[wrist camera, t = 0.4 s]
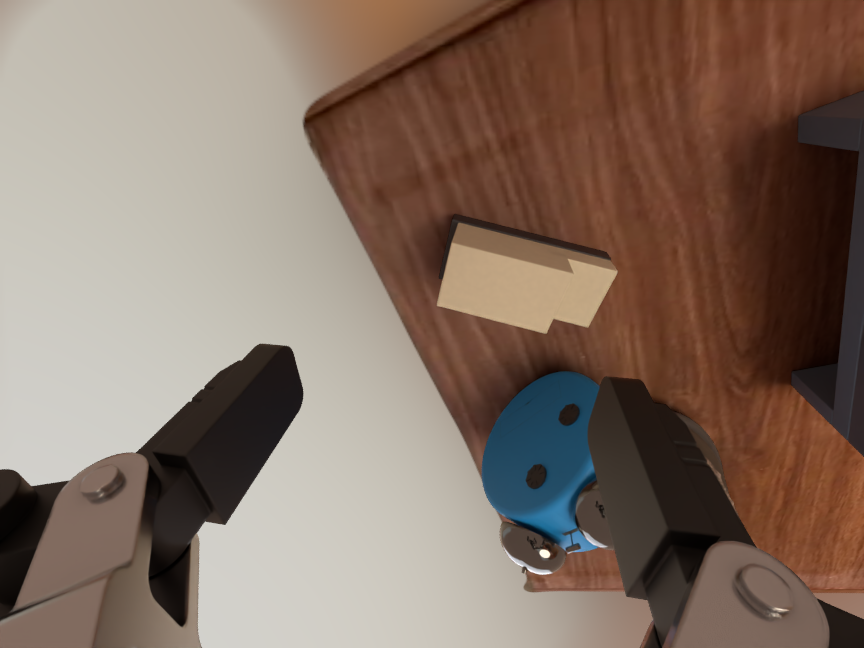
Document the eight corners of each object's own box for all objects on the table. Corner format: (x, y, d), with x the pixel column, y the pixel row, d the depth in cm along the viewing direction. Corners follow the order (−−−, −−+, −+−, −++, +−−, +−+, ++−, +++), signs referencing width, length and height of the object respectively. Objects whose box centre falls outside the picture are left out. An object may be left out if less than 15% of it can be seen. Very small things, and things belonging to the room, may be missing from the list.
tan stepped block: (440, 271, 30) (429, 305, 25) (454, 213, 28) (444, 239, 23) (579, 306, 30) (594, 348, 25) (606, 251, 27) (630, 286, 22)
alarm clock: (522, 442, 40) (532, 600, 27) (481, 412, 38) (471, 565, 26) (626, 379, 33) (702, 550, 21) (580, 341, 32) (632, 499, 19)
